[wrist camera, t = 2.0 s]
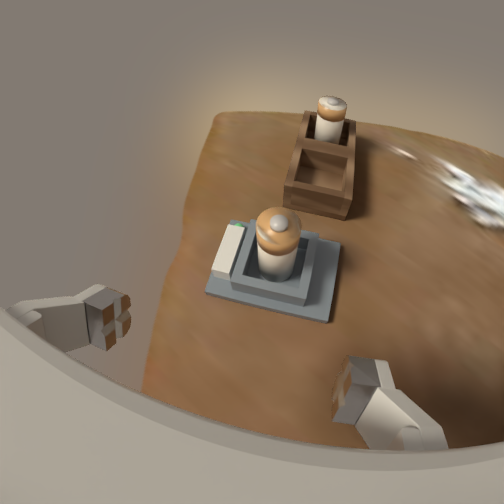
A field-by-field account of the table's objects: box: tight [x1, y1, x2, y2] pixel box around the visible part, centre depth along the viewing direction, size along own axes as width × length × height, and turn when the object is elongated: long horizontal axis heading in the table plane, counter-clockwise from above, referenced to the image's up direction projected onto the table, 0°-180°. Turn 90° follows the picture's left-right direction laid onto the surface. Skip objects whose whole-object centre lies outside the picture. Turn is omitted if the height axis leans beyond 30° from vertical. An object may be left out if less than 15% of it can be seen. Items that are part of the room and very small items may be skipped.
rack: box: [283, 111, 356, 221], centre depth 40 cm, size 18×8×4 cm, turn 164°
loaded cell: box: [314, 96, 347, 145], centre depth 39 cm, size 4×4×9 cm
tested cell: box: [256, 207, 302, 283], centre depth 29 cm, size 4×4×9 cm
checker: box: [205, 219, 341, 323], centre depth 32 cm, size 10×14×4 cm
